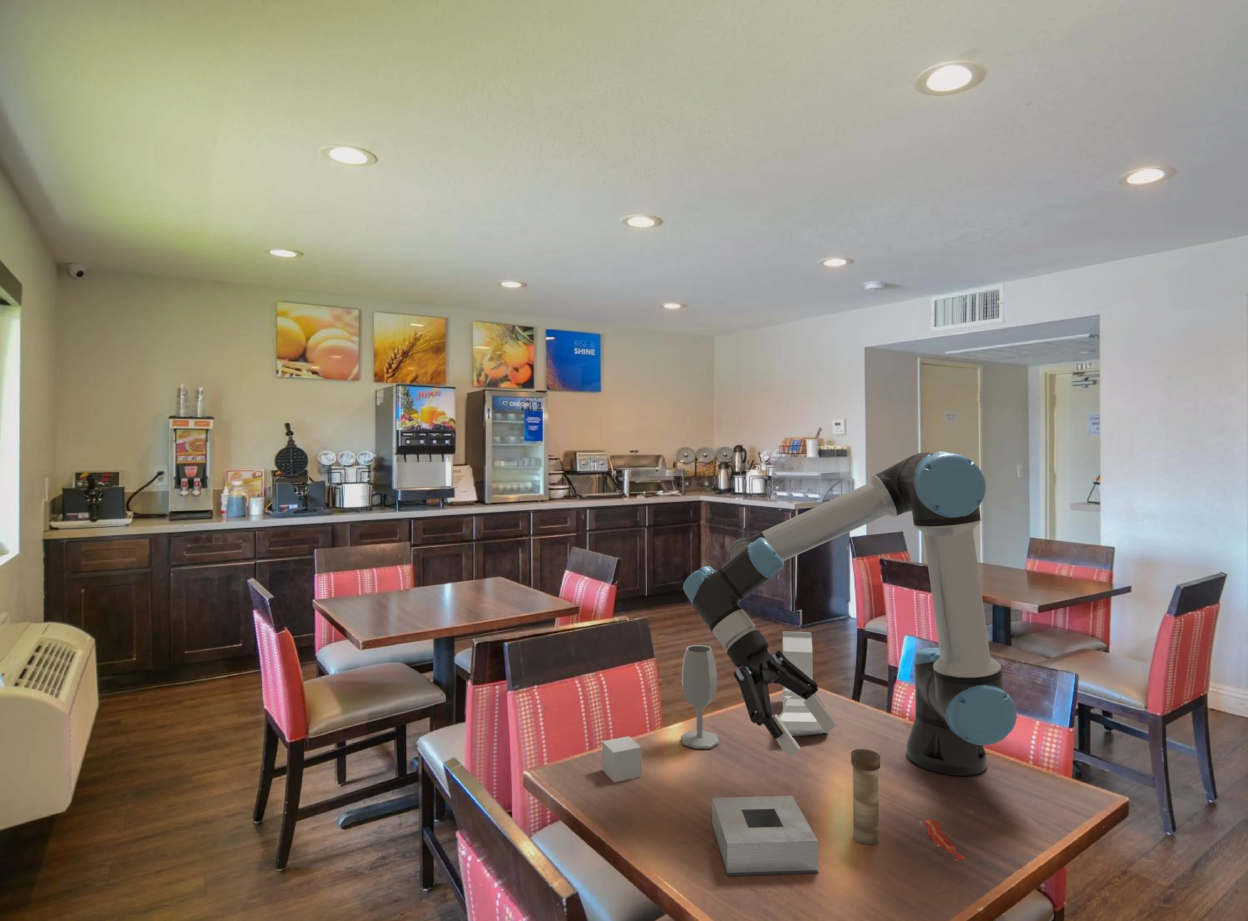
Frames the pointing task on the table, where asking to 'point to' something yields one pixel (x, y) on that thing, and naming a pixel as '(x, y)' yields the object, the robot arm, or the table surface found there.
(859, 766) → the beige cylinder
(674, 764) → the table surface
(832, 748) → the table surface
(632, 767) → the grey cube
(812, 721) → the soft serve ice cream
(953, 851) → the bacon strip
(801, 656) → the milk carton
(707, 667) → the wineglass
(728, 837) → the block
